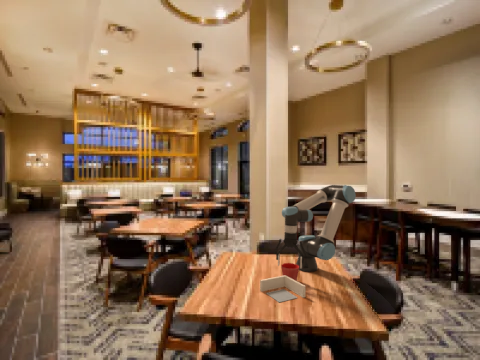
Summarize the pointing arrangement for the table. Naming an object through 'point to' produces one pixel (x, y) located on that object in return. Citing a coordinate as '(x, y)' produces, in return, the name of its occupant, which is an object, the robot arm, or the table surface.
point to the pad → (281, 295)
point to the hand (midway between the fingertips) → (289, 266)
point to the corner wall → (282, 284)
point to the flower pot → (290, 270)
